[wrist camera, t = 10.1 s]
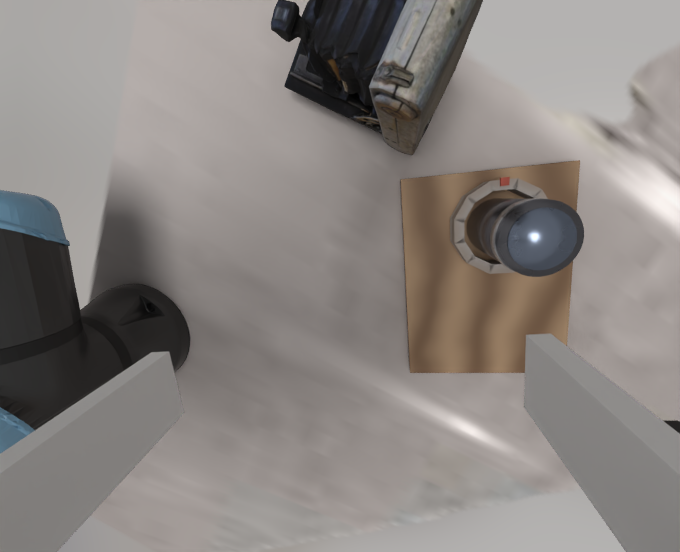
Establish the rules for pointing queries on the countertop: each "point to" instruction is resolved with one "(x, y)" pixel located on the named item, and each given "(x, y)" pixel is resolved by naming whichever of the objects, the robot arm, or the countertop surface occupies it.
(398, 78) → the vintage camera
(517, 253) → the lens
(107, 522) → the countertop surface
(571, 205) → the mount board
